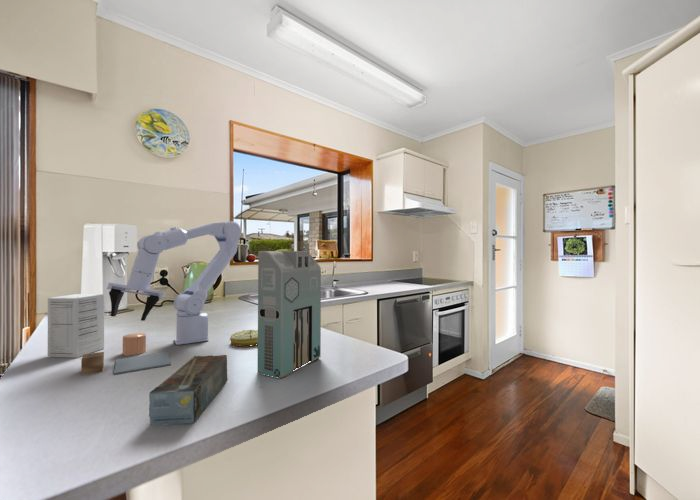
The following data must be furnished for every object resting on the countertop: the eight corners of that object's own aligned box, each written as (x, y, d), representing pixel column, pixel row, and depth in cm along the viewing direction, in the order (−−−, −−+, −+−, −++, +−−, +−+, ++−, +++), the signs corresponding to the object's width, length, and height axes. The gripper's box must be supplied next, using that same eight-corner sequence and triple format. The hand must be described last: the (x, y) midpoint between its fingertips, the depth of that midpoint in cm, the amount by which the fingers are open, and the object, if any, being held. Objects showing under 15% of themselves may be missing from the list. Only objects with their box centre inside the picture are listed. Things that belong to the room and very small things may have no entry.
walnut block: (103, 367, 82) (103, 351, 82) (102, 372, 79) (102, 355, 79) (83, 370, 80) (83, 354, 80) (81, 375, 76) (81, 358, 76)
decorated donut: (243, 338, 111) (243, 327, 111) (270, 340, 108) (270, 329, 108) (223, 346, 101) (223, 334, 101) (252, 349, 98) (252, 337, 98)
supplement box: (105, 348, 98) (106, 293, 98) (76, 358, 88) (77, 297, 89) (77, 347, 99) (77, 293, 99) (45, 357, 89) (46, 297, 90)
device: (281, 379, 74) (282, 251, 74) (256, 373, 78) (257, 251, 78) (320, 359, 88) (321, 251, 89) (298, 355, 92) (299, 251, 92)
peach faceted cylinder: (145, 348, 98) (145, 332, 98) (145, 353, 93) (145, 336, 93) (122, 351, 95) (123, 334, 95) (122, 356, 90) (122, 339, 90)
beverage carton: (145, 427, 54) (146, 388, 54) (193, 382, 73) (193, 353, 73) (194, 425, 55) (194, 387, 55) (228, 381, 74) (229, 352, 74)
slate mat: (167, 353, 93) (167, 351, 93) (170, 365, 83) (170, 363, 83) (116, 360, 87) (116, 359, 87) (113, 374, 77) (113, 372, 77)
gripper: (110, 266, 90) (93, 314, 87) (166, 277, 95) (152, 323, 92) (118, 268, 97) (103, 313, 94) (170, 278, 101) (157, 321, 99)
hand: (128, 318), depth 93 cm, fingers open, 7 cm apart
